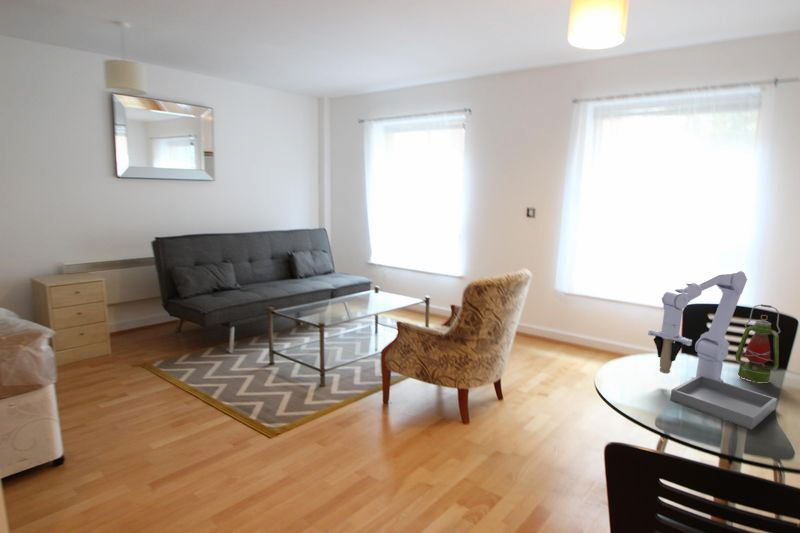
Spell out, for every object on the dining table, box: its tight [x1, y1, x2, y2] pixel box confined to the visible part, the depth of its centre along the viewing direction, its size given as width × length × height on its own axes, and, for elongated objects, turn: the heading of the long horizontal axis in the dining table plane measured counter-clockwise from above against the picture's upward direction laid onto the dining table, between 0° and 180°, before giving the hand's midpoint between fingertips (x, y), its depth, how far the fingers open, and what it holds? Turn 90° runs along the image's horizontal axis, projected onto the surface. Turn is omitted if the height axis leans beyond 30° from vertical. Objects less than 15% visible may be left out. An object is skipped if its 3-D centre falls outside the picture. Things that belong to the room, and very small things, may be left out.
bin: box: [669, 375, 778, 430], centre depth 164 cm, size 24×24×4 cm
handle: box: [659, 332, 681, 375], centre depth 178 cm, size 5×6×15 cm
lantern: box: [735, 303, 781, 382], centre depth 187 cm, size 14×11×30 cm
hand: (666, 358), depth 178 cm, fingers closed on handle, 4 cm apart
